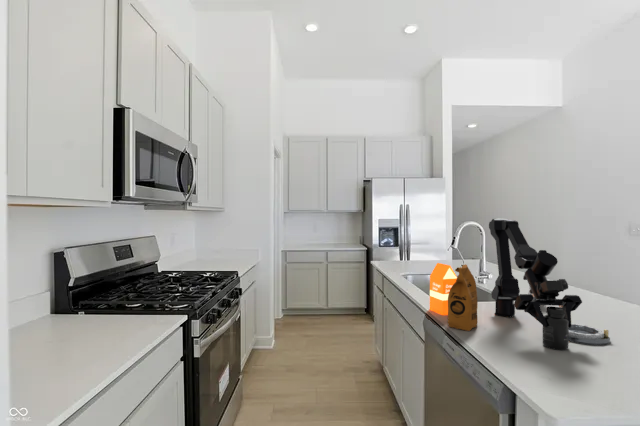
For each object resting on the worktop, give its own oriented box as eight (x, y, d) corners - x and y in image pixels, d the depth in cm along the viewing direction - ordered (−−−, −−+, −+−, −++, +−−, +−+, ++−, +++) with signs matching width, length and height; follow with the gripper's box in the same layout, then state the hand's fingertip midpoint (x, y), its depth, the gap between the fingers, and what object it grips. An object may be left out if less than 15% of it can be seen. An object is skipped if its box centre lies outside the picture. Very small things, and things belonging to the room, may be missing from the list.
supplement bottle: (572, 351, 108) (573, 311, 108) (547, 349, 109) (548, 310, 109) (562, 343, 115) (562, 305, 115) (538, 341, 116) (539, 304, 116)
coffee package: (442, 326, 131) (443, 266, 131) (454, 319, 140) (454, 262, 140) (471, 332, 124) (471, 269, 124) (481, 324, 134) (481, 265, 134)
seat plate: (549, 337, 120) (549, 327, 120) (553, 325, 132) (553, 316, 132) (611, 349, 110) (611, 337, 110) (608, 334, 123) (608, 324, 123)
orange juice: (444, 308, 156) (444, 262, 156) (458, 313, 148) (458, 265, 148) (429, 309, 154) (429, 263, 153) (442, 315, 145) (442, 266, 145)
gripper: (518, 269, 116) (537, 313, 105) (578, 270, 115) (603, 314, 104) (507, 288, 124) (523, 330, 113) (563, 289, 123) (584, 332, 112)
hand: (558, 326), depth 111 cm, fingers closed on supplement bottle, 7 cm apart
